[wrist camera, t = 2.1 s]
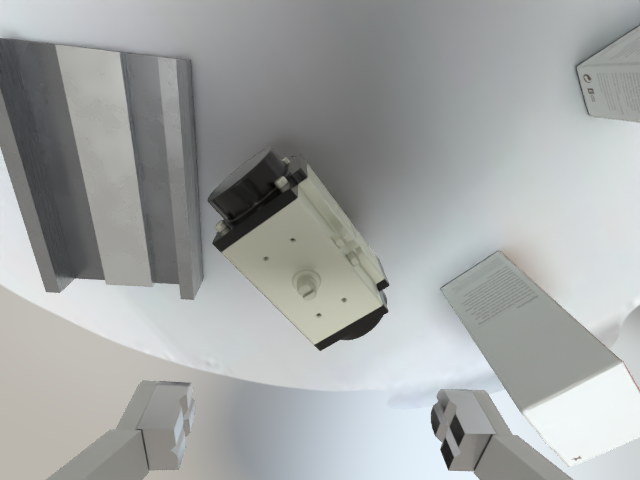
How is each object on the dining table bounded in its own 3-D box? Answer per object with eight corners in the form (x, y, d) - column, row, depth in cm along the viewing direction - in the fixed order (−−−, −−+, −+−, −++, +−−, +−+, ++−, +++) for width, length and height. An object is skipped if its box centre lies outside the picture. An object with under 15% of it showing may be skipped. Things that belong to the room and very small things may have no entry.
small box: (535, 302, 33) (664, 429, 21) (478, 335, 35) (568, 471, 23) (499, 247, 30) (626, 361, 18) (438, 287, 31) (519, 415, 20)
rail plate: (7, 38, 21) (-36, 34, 18) (190, 60, 22) (175, 59, 19) (69, 270, 28) (46, 292, 26) (203, 278, 30) (193, 299, 27)
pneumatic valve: (322, 268, 30) (335, 380, 19) (231, 162, 25) (181, 232, 14) (375, 234, 29) (421, 334, 18) (290, 116, 24) (283, 155, 13)
